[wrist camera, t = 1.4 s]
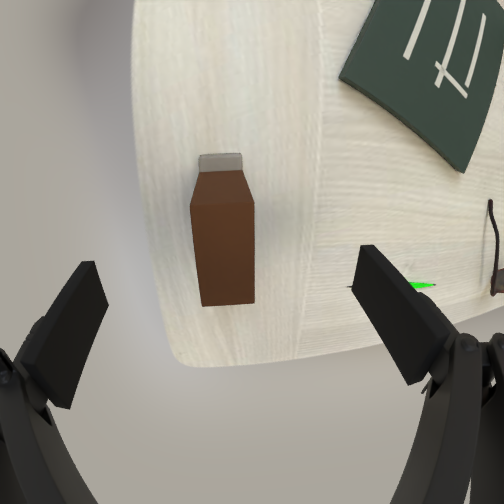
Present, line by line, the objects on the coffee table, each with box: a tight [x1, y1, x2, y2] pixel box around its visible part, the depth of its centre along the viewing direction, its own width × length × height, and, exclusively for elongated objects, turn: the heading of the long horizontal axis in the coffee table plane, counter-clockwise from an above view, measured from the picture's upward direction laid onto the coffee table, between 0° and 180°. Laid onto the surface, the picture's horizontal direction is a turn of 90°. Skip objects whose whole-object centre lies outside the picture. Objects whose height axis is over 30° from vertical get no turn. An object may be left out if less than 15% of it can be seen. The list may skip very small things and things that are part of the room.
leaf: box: [349, 283, 434, 289], centre depth 28 cm, size 1×14×1 cm, turn 84°
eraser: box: [190, 153, 255, 307], centre depth 18 cm, size 8×3×8 cm, turn 0°
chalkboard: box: [339, 0, 504, 174], centre depth 14 cm, size 26×16×1 cm, turn 156°
